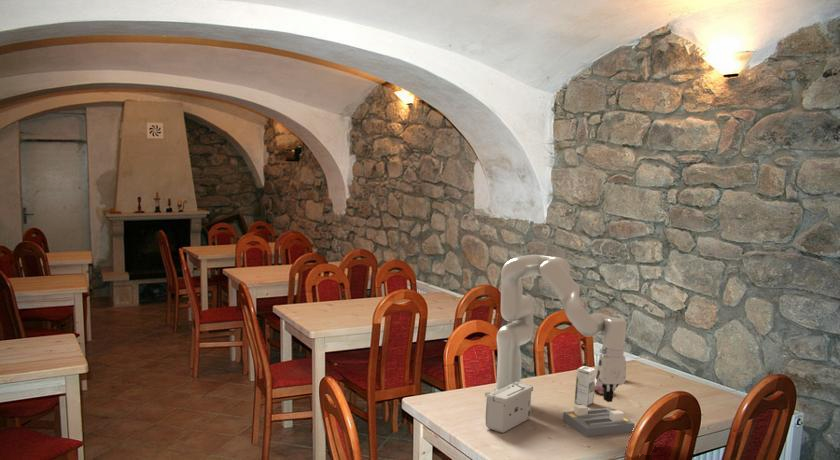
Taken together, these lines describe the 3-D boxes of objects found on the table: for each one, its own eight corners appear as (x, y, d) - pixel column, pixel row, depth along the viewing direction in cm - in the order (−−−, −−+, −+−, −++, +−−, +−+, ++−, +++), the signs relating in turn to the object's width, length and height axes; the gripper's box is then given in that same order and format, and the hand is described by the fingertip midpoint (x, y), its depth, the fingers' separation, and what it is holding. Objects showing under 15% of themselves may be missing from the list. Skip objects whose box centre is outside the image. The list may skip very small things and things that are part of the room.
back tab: (578, 416, 243) (578, 408, 243) (573, 413, 246) (574, 405, 246) (587, 415, 245) (588, 407, 244) (583, 412, 247) (583, 404, 247)
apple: (607, 390, 284) (608, 374, 283) (610, 396, 276) (612, 379, 276) (588, 388, 285) (589, 372, 284) (591, 394, 277) (592, 378, 276)
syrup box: (580, 399, 271) (582, 365, 269) (593, 403, 267) (596, 368, 266) (574, 403, 266) (576, 368, 265) (587, 406, 263) (590, 371, 261)
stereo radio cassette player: (514, 413, 253) (516, 363, 251) (533, 419, 247) (535, 367, 245) (483, 429, 236) (486, 375, 235) (503, 435, 231) (506, 380, 229)
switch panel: (586, 436, 233) (586, 426, 232) (563, 419, 248) (563, 410, 247) (634, 431, 239) (634, 421, 239) (608, 415, 254) (609, 406, 254)
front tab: (614, 422, 239) (614, 414, 239) (609, 419, 242) (609, 411, 241) (623, 421, 240) (624, 413, 240) (618, 418, 243) (619, 410, 243)
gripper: (600, 355, 232) (595, 405, 234) (636, 354, 236) (631, 403, 239) (589, 349, 239) (584, 397, 241) (624, 348, 243) (619, 395, 246)
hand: (607, 400), depth 240 cm, fingers closed
